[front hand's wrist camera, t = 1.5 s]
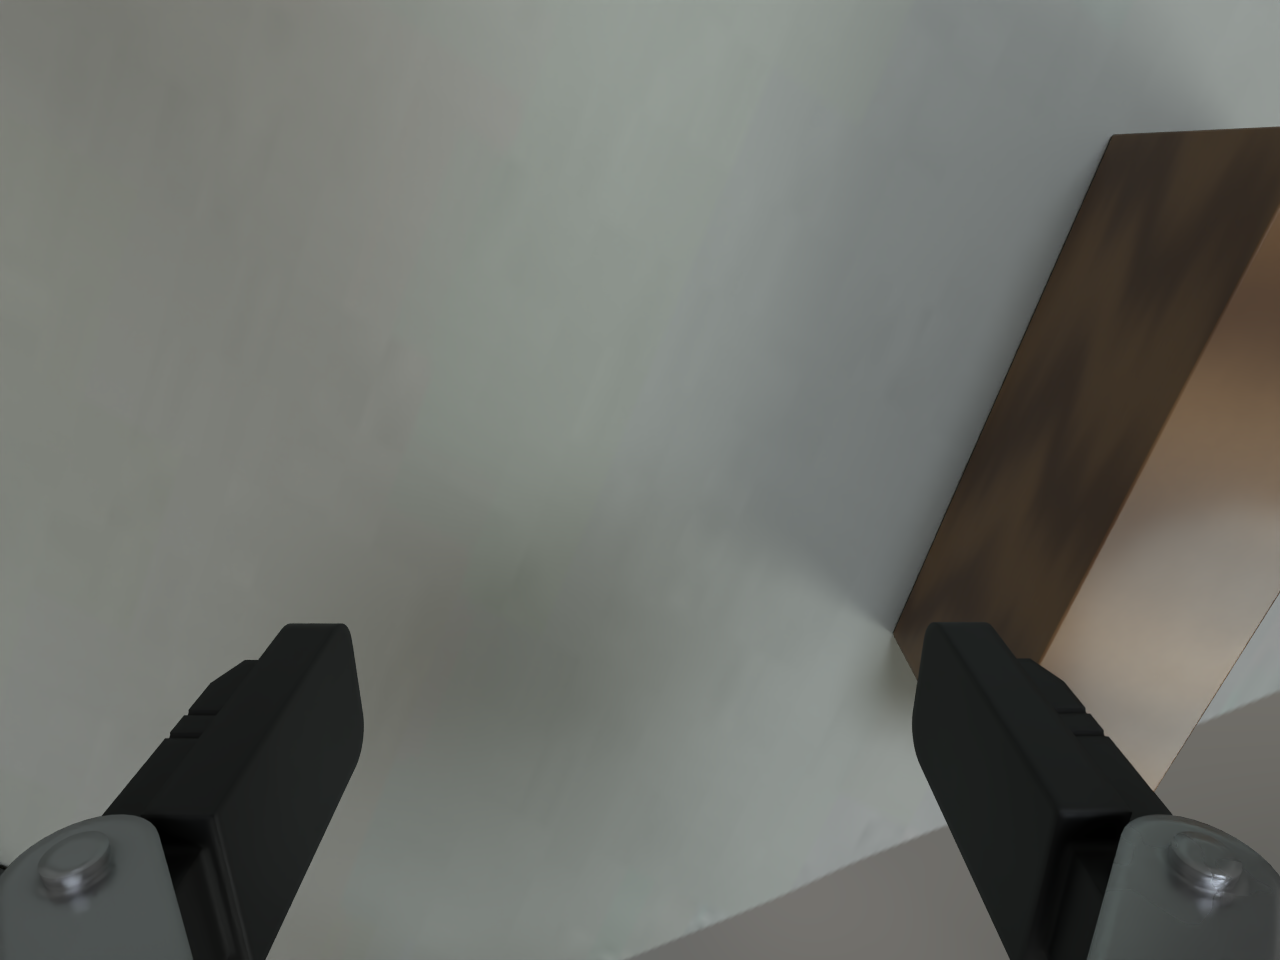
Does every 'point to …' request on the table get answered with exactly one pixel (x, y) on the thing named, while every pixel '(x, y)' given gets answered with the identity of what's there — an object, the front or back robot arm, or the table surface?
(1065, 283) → the box
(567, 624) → the table surface
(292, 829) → the front robot arm
